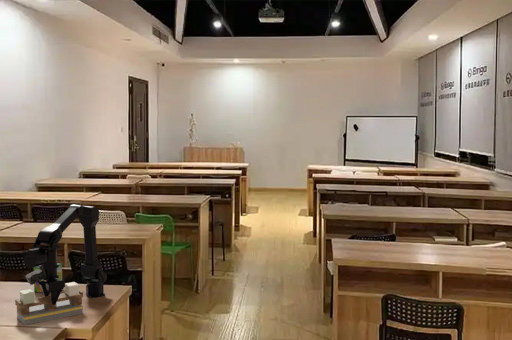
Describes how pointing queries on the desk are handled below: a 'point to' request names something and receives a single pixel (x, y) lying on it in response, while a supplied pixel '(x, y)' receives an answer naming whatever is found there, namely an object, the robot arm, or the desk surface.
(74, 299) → the pallet
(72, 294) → the block
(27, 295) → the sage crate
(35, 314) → the dock
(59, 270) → the chalk box
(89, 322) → the desk surface
